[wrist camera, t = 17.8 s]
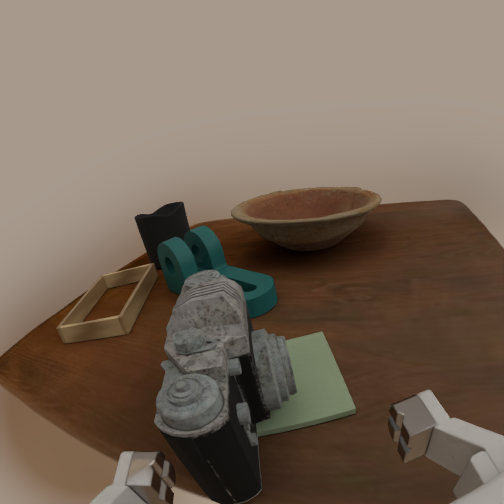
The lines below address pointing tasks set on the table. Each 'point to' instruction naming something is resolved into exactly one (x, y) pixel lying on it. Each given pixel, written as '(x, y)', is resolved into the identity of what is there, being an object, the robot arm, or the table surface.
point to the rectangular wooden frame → (111, 326)
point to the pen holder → (162, 228)
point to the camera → (220, 386)
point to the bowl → (307, 215)
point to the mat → (311, 388)
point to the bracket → (212, 268)
